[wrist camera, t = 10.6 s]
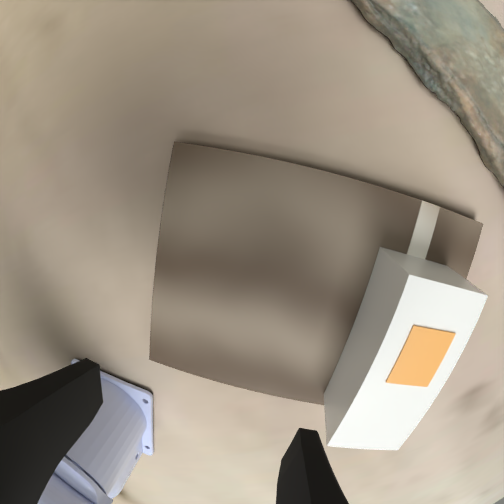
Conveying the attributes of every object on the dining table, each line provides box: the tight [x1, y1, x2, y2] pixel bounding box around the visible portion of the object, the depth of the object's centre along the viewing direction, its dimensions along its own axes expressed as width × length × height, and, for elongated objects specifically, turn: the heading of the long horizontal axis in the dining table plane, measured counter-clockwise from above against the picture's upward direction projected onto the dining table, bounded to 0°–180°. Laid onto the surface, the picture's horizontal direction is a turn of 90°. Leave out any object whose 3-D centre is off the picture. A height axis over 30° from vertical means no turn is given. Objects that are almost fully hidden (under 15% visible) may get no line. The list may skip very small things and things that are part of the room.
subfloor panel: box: [149, 142, 483, 405], centre depth 16 cm, size 14×18×1 cm
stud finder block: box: [324, 247, 488, 450], centre depth 14 cm, size 10×4×5 cm, turn 168°
